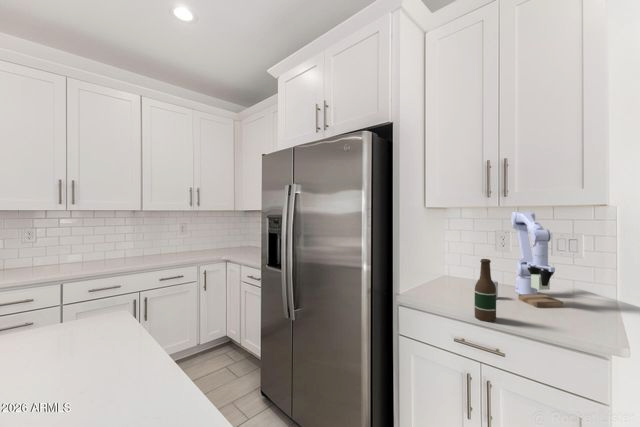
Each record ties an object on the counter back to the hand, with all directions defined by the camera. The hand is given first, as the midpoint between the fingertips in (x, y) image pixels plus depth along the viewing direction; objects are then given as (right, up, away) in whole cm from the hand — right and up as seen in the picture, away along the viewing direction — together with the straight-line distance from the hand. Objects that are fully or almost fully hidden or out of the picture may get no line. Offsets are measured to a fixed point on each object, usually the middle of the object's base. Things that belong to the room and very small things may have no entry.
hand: (540, 284), depth 140 cm
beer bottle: (-36, -10, -19) cm, 42 cm away
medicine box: (-19, -9, +9) cm, 23 cm away
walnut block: (0, -9, 0) cm, 9 cm away
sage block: (0, -2, 0) cm, 2 cm away
